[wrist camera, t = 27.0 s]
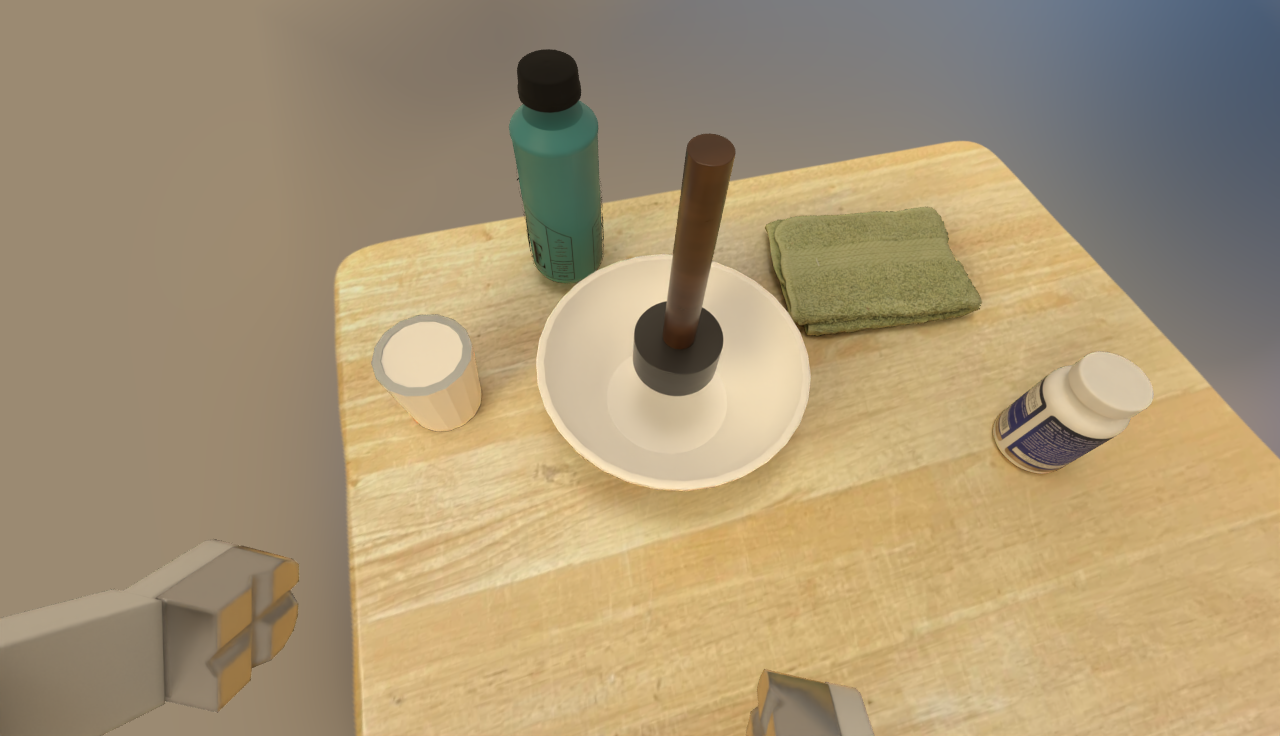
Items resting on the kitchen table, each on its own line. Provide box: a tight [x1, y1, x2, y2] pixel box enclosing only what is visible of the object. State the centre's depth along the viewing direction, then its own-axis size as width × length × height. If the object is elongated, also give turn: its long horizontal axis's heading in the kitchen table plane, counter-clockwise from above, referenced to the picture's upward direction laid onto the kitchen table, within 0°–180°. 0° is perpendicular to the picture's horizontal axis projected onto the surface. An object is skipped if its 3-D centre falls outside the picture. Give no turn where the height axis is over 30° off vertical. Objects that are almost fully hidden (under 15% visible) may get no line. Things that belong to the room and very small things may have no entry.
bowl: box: [536, 254, 811, 491], centre depth 45 cm, size 20×20×7 cm
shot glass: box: [371, 315, 482, 431], centre depth 44 cm, size 7×7×7 cm
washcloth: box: [765, 207, 982, 336], centre depth 54 cm, size 13×18×3 cm
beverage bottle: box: [509, 50, 604, 283], centre depth 46 cm, size 6×7×20 cm
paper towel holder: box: [633, 134, 735, 396], centre depth 34 cm, size 6×6×18 cm
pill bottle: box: [993, 352, 1154, 473], centre depth 43 cm, size 6×6×10 cm
